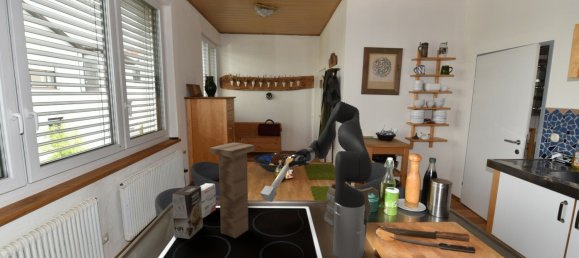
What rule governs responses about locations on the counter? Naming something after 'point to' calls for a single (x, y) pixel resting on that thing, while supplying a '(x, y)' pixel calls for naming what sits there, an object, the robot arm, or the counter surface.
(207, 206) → the ink box
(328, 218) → the tankard
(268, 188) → the hammer
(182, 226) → the coffee box
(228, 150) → the stand
